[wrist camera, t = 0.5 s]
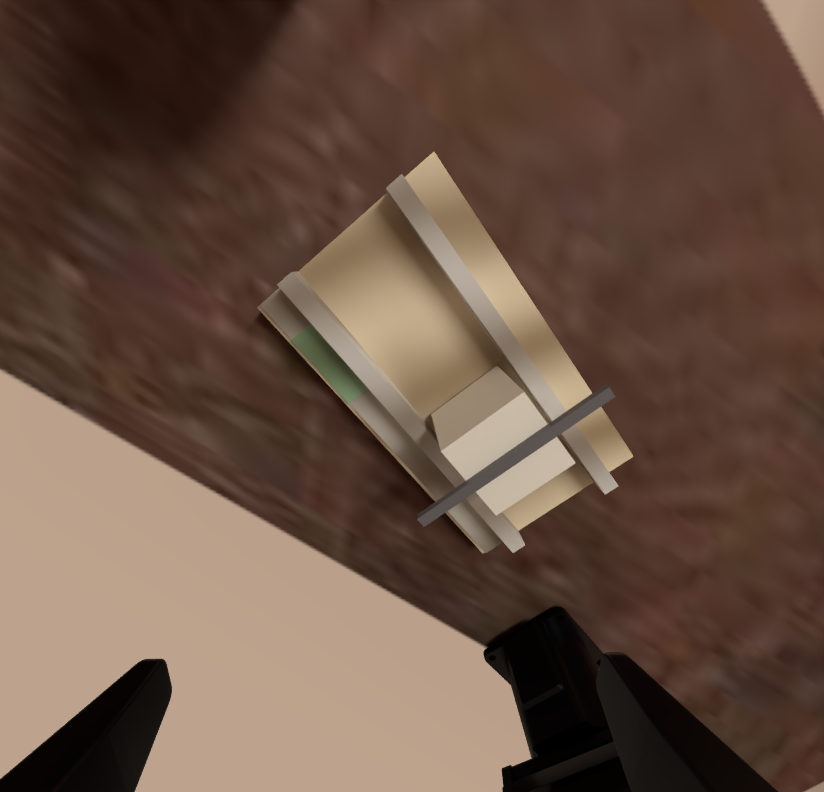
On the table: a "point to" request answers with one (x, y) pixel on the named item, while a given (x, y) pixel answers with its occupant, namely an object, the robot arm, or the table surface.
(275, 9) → the table surface
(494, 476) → the tuning slider
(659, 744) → the robot arm
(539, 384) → the board
